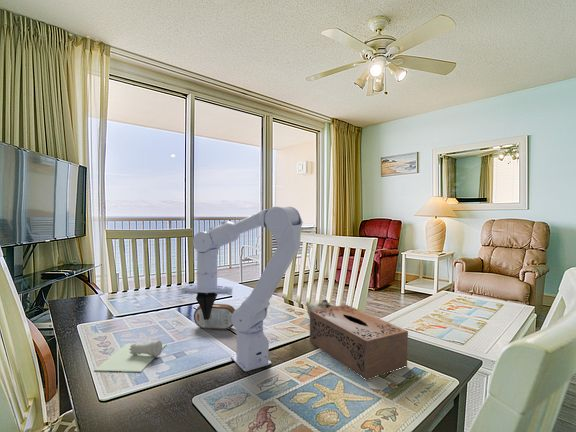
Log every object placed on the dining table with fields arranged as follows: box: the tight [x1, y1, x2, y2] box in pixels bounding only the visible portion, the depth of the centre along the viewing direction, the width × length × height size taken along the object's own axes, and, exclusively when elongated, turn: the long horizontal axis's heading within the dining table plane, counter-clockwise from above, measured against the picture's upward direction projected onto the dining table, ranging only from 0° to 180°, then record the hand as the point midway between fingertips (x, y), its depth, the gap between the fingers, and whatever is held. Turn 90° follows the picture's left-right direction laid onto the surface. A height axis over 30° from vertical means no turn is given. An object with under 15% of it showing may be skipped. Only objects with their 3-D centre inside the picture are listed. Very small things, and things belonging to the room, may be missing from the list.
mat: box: [93, 342, 167, 373], centre depth 90 cm, size 12×16×1 cm
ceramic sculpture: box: [306, 299, 337, 318], centre depth 118 cm, size 11×9×15 cm
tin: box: [193, 303, 236, 331], centre depth 111 cm, size 15×3×8 cm, turn 84°
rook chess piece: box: [129, 339, 163, 358], centre depth 90 cm, size 4×4×8 cm
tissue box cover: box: [309, 304, 409, 380], centre depth 94 cm, size 26×14×10 cm, turn 29°
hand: (207, 318), depth 94 cm, fingers closed
